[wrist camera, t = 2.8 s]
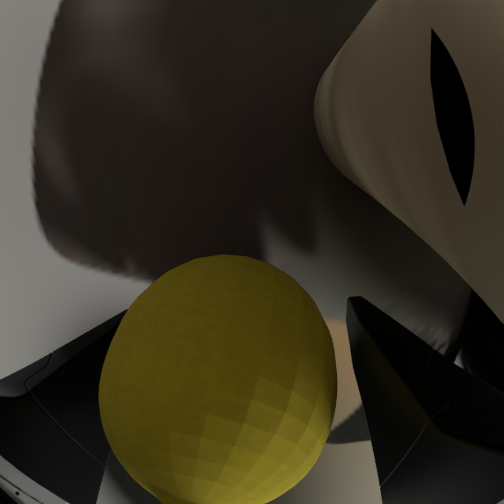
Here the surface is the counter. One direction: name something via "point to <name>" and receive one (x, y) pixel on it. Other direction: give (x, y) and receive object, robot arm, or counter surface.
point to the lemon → (219, 383)
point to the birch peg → (426, 126)
